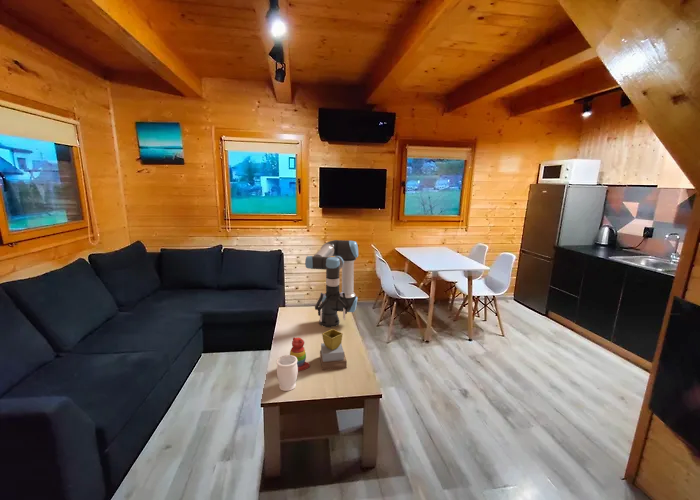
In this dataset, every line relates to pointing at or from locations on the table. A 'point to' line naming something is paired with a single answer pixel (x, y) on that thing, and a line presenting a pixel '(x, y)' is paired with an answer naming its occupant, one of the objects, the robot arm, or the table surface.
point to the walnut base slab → (333, 364)
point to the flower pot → (332, 339)
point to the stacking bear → (299, 353)
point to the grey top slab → (332, 353)
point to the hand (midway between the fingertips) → (332, 319)
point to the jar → (287, 372)
